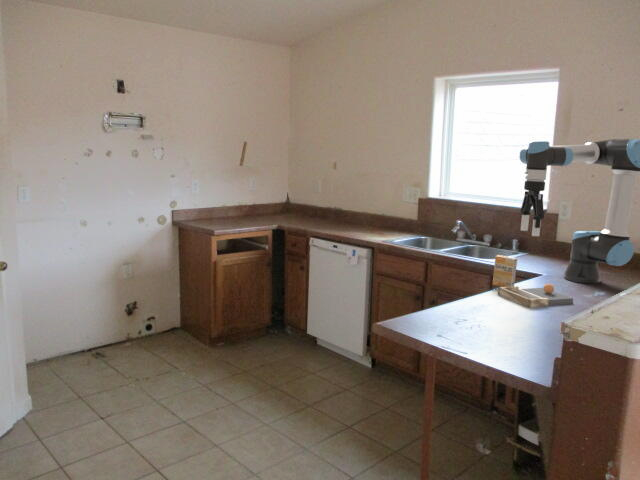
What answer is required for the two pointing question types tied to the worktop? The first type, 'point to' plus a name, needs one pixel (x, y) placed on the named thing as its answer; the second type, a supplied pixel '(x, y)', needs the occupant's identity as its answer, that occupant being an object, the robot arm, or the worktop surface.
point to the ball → (548, 288)
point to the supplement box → (504, 271)
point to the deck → (545, 296)
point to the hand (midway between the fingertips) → (529, 233)
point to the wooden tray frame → (521, 297)
